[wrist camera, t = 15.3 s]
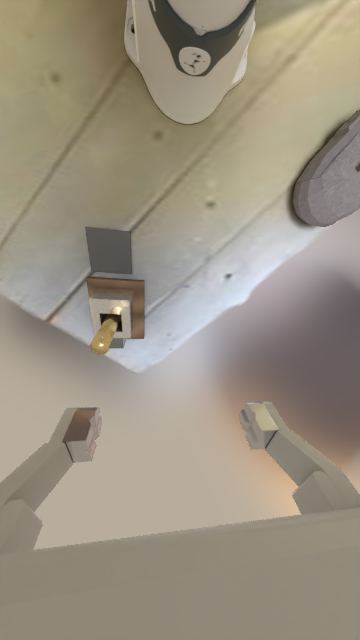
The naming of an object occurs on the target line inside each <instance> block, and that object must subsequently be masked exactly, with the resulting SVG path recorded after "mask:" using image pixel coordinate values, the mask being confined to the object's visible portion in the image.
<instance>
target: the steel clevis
mask: <svg viewBox="0 0 360 640" xmlns="http://www.w3.org/2000/svg"><path fill="white" fill-rule="evenodd" d="M88 299H89V306H90V312H91V318H92V324H93V330H94V337H95V336H96V334H97V332H98V330H99V329H100V327H101V325H102V324H103V322H104V320H105V318H106V317H107V315H108V314H121V316H122V317H121V320H120V322H119V324H118V327H117V329H116V332H115V334H114V336H113V339H112V341H111V344H110V346H109V348H124V345H125V341H126V338H131V335H132V331H133V327H134V290H132V289H115V288H98V289H97V290H96V291H95V292H94V293H93V294H92V295H91V296H90V297H89V298H88Z"/></svg>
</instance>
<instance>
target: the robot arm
mask: <svg viewBox="0 0 360 640" xmlns="http://www.w3.org/2000/svg"><path fill="white" fill-rule="evenodd" d="M257 1H258V0H127V9H126V20H125V30H124V45H125V50H126V53H127V55H128V56H129V58H130V59H131V61H132V62H133V63H134V64H135V66H136V67H137V68H138V69H139V70H140V72H141V74H142V76H143V78H144V80H145V83H146V85H147V88H148V90H149V92H150V94H151V96H152V98H153V100H154V102H155V103H156V104H157V106H158V107H159V108H160V110H161V111H162V112H163V113H164V114H165V115H167V116H168V117H169V118H171V119H172V120H174V121H176V122H179V123H183V124H193V123H197V122H200V121H202V120H204V119H205V118H207V117H208V116H209V115H210V114H212V112H213V111H214V110H215V109H216V108H217V106H218V105H219V104H220V102H221V100H222V99H223V97H224V96H225V94H226V93H227V92H228V91H229V90H231V89H232V88H234V87H235V86H236V85H238V84H239V83H240V82H241V80H242V79H243V77H244V74H245V72H246V67H247V50H248V45H249V43H250V41H251V38H252V36H253V33H254V29H255V21H254V16H255V6H256V3H257ZM132 29H134V31H135V34H133V33H132V32H131V31H132ZM243 408H244V409H243V410H242V411H241V412H240V415H239V417H240V424H241V426H242V429H244V430H245V431H246V438H247V441H248V443H249V446H250V448H251V450H252V449H265V450H266V451H267V452H268V453H269V455H270V456H271V457H272V458H273V459H274V460H275V461H276V462H277V463H278V464H279V466H280V467H281V468H282V469H283V470H284V471H285V472H286V473H287V474H288V475H289V476H290V478H291V479H292V480H293V481H294V482H295V483H296V484H297V485H298V486H299V487H298V488H297V489H296V490H295V491H294V492H293V495H292V496H293V498H294V500H295V502H296V504H297V506H298V508H299V511H300V513H301V515H295V516H288V517H280V518H273V519H265V520H257V521H249V522H243V523H234V524H227V525H219V526H212V527H204V528H197V529H189V530H181V531H174V532H166V533H159V534H151V535H143V536H136V537H128V538H121V539H113V540H106V541H98V542H90V543H83V544H76V545H68V546H61V547H53V548H45V549H37V550H33V548H34V546H35V543H36V541H37V538H38V535H39V533H40V530H41V527H42V521H41V520H40V519H39V517H38V516H37V515H36V514H35V513H34V512H35V511H36V509H37V508H38V507H39V506H40V504H41V503H42V502H43V501H44V499H45V498H46V497H47V496H48V494H49V493H50V492H51V491H52V490H53V488H54V487H55V486H56V484H57V483H58V482H59V481H60V480H61V478H62V477H63V476H64V474H65V473H66V472H67V471H68V469H69V468H70V467H71V466H72V465H73V463H75V462H84V461H92V459H93V455H94V452H95V448H96V442H95V440H96V439H97V437H98V436H99V434H100V430H101V424H102V419H101V416H100V415H99V413H100V409H99V407H91V408H67V409H66V410H65V412H64V413H63V415H62V417H61V419H60V421H59V423H58V425H57V427H56V429H55V431H54V433H53V435H52V437H51V439H50V441H49V443H46V444H44V445H43V446H42V447H40V448H39V449H38V450H37V451H36V452H35V453H34V454H32V455H31V456H30V457H29V458H28V459H27V460H26V461H24V462H23V463H22V464H21V465H20V466H19V467H18V468H17V469H16V470H14V471H13V472H12V473H11V474H10V475H9V476H8V477H6V478H5V479H4V480H3V481H2V482H1V483H0V640H360V494H359V493H358V492H357V490H356V489H355V488H354V486H353V485H352V484H351V482H350V481H349V479H348V478H347V477H346V475H345V474H344V473H343V471H342V470H341V469H340V468H339V467H338V466H337V465H335V464H334V463H333V462H331V461H330V460H329V459H328V458H326V457H325V456H324V455H323V454H321V453H320V452H319V451H318V450H316V449H315V448H314V447H312V446H311V445H310V444H309V443H307V442H306V441H305V440H304V439H302V438H301V437H300V436H298V435H297V434H296V433H295V432H293V431H292V430H289V429H288V428H287V426H286V425H285V423H284V422H283V420H282V419H281V417H280V415H279V414H278V412H277V411H276V409H275V407H274V406H273V404H272V403H271V402H246V403H244V405H243Z"/></svg>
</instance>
